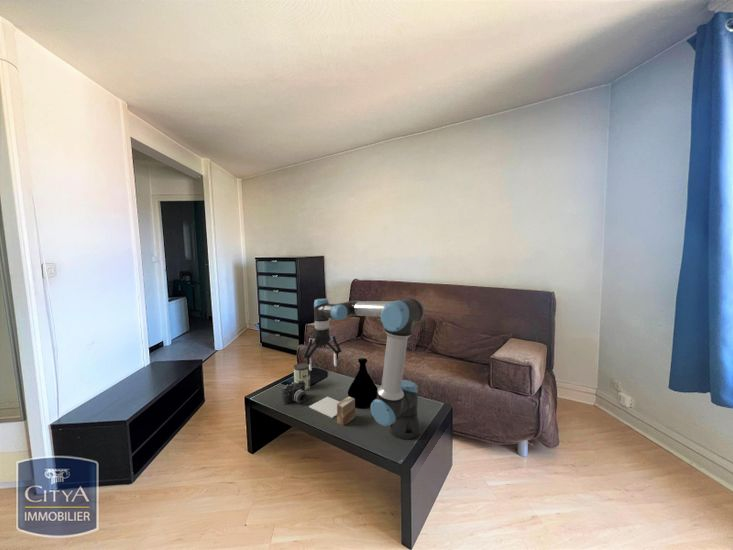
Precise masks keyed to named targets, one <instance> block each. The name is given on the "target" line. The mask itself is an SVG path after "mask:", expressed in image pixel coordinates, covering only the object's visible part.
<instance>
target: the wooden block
mask: <svg viewBox="0 0 733 550" xmlns="http://www.w3.org/2000/svg"><path fill="white" fill-rule="evenodd" d="M355 418H356V408H355V399H354V398H351V397H349V396H348V397H345V398H344V399H342V400H340V401H339V403H337V417H336V419H337V420H336V423H337V424H339V425H341V426H345V425H346V424H348V423H350V422H351V421H352V420H354V419H355Z"/></svg>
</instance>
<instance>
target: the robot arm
mask: <svg viewBox="0 0 733 550" xmlns="http://www.w3.org/2000/svg"><path fill="white" fill-rule="evenodd" d="M313 311H314V314H313V315H314V319H313V320H314V338H311V337H310V338H308V344H307V345H306V347H305V350H304V352H303V354H302V357H304V358H305V359H306V363H307V364H309V370H310V372H311V371H312V357H311V356H312V355H313V354H314V352H315V351H316V350H317V349H318V348H319V347H324V346H328V347H329V348H330V349H331V350H332V351H333V365H334V367H337V366H338V362H337V361H338V360H339V353H341V352H342V349H341V348H340V346H339V344H338V342H337V340H336V336H335V335H331V336H330V319H331V320H334V321H342V320H345V318H347V317H350V316H358V317H359V316H362V317H380V321H381V323H382V326H383V328H384V332H385V334H386V335H387V336H386V345H385V354H384V362H383V363H384V364H383V370H382V371H383V372H382V378H381V385H380V386H379V387H377V389H378V390H377V398H376V399H375V400H373V402H372V403H371V407H370V413H371V415H372V417H373V419H374V420H375V421H376V423H378V424H379V425H381V426H383V427H389V432H390V433H391V434H392V436H394V437H396V438H398V439H402V440H412V439H415V437H416V438H418V437H419V436H420V435H421V434H420V433H422V424H421V421H420V416H419V415H418V414H419V413H418V406H419V405H418V403H419V402H418V400H419V398H418V397H419V395H418V394H419V391H418V385H417V384H416V383H415V382H414V381H411V380H407V379H403V377H404V368H405V363H406V362H405V360H406V353H407V348H408V347H407V346H408V345H407V344H408V339H409V338H410V337H411V336H412V334H413V327H414V325H417V324H418V323H420V322H421V321H422V319H423V317H425V316H424V315H425V308H424V306H423V303H422V302H421V301H420V300H418V299H416V298H414V297H413V298H412V297H409V298H405V299H398V300H393V301H390V300H389V301H386V300H385V301H381V300H380V301H377V300H375V301H374V300H373V301H362V300H361V301H360V300H351V301H347V302H340V303H330V302H329V299H327V298H316V299H314V303H313ZM330 340H331V341H332V342H333V344H334V346H335V347H336V348H335V347H334V346H333V345H332V344H331V343H330ZM313 343H314V345H313ZM312 345H313V346H312ZM311 347H312V348H311ZM336 349H337V350H336ZM419 434H420V435H419ZM418 435H419V436H418ZM417 436H418V437H417Z"/></svg>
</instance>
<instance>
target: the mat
mask: <svg viewBox="0 0 733 550" xmlns="http://www.w3.org/2000/svg"><path fill="white" fill-rule="evenodd" d="M339 402H340V401H339V400H336V399H334V398H332V397H330V396H326V397H324V398H322V399H320V400H319V401H317V402H314V403H313V404H311V405H309V406H308V408H310V409H312V410H314V411H317V412H318V413H321V414H323V415H325V416H327V417H328V418H331V419H333V418H335V417H336V416H337V403H339Z"/></svg>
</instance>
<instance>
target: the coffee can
mask: <svg viewBox="0 0 733 550" xmlns="http://www.w3.org/2000/svg"><path fill="white" fill-rule="evenodd" d="M300 380H303V381H304V382H305V391H307V390H308V389H311V371H310V370H309V364H307V362H301V363H296V364H295V365H293V381H294V382H297V383H298V382H299V381H300Z"/></svg>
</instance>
